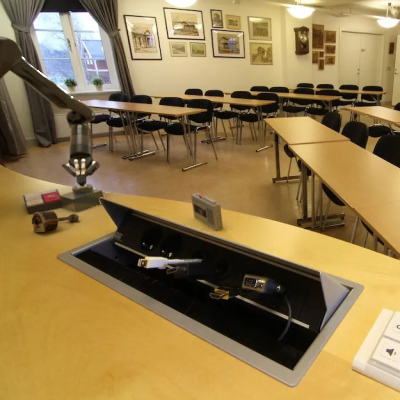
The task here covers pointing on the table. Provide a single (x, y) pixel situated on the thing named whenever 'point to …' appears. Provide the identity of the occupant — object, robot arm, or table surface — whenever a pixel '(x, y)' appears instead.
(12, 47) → the robot arm
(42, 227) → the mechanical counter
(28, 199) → the dark box with panels
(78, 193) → the olive block with knob
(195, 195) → the cassette player
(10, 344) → the table surface
